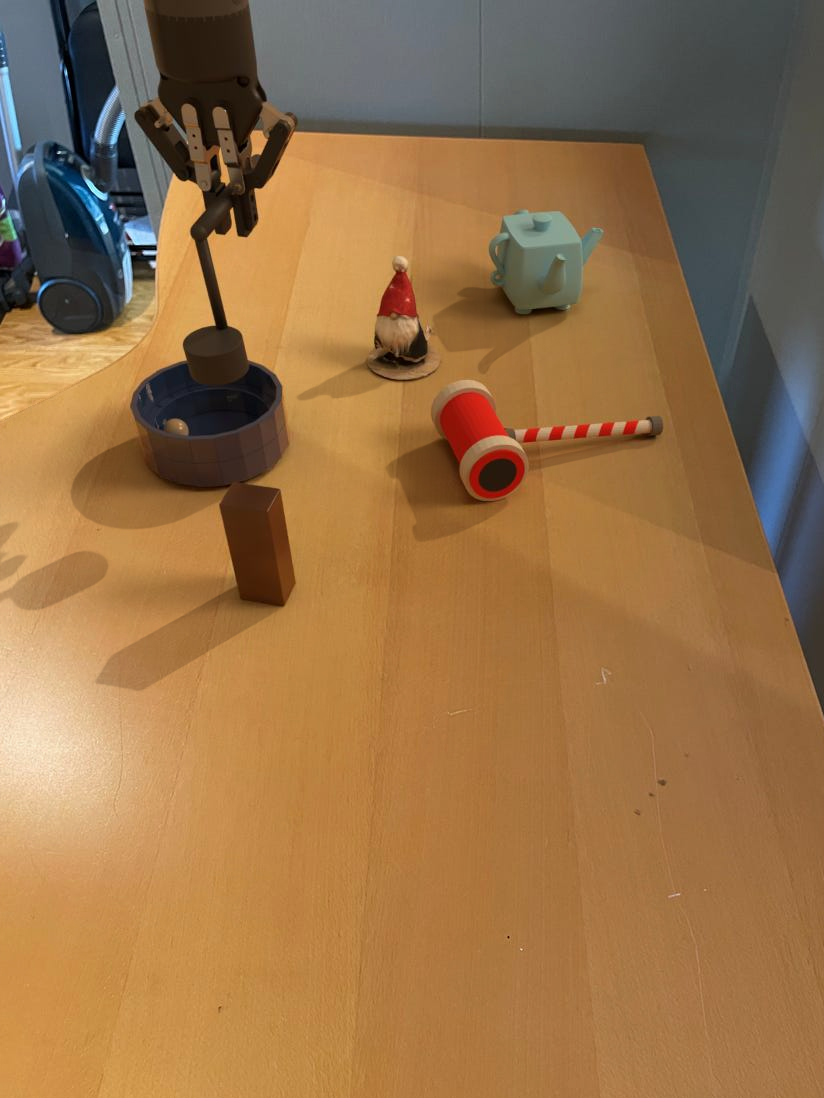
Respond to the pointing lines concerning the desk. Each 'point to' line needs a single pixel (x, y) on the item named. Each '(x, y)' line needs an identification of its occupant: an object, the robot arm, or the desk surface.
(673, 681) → the desk surface
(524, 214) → the teapot
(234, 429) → the bowl
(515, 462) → the toy hammer
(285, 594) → the upright brown pillar
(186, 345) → the ladle
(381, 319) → the figurine
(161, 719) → the desk surface
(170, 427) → the bead
